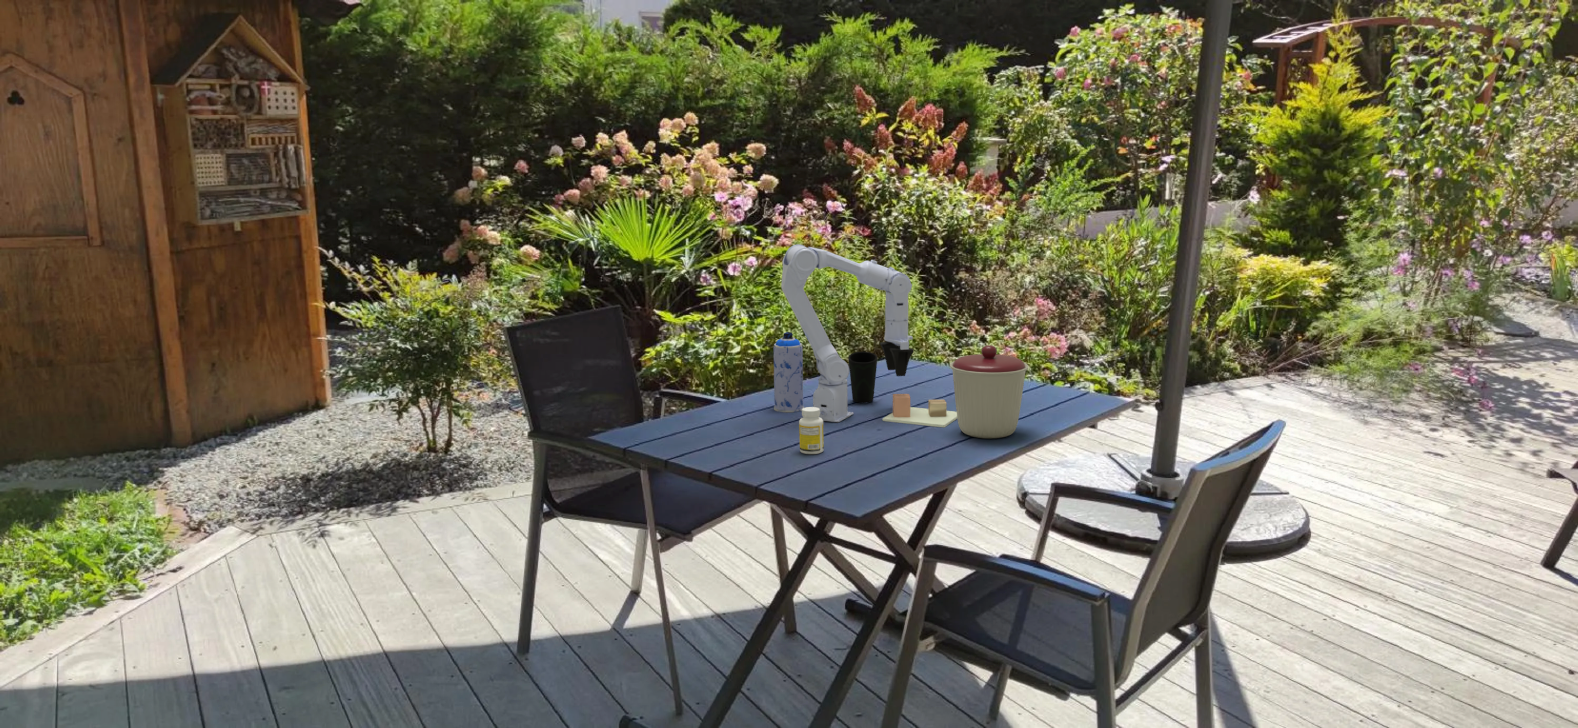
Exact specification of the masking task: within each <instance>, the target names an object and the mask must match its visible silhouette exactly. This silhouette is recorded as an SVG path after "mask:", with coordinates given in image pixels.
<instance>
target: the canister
mask: <svg viewBox="0 0 1578 728" xmlns="http://www.w3.org/2000/svg"><path fill="white" fill-rule="evenodd" d="M949 368H950V369H951V370H952V377H953V380H952V381H953V390H954V399H955V400H954V401H955V409H956V411H955V412H957V419H956V420H957V425H958V427H959V429H960V430H961V432H962V433H964V434H965V435H967V436H970V437H974V438H979V439H1001V438H1005V437H1008V436H1010V435H1013V433H1015V431H1016V430H1017V427H1018V423H1019V419H1020V418H1019V417H1020V412H1021V408H1022V407H1021V406H1022V400H1023V391H1024V384H1025V376H1026V372H1027V371H1028V369H1029V365H1028V363H1026V362H1024V361H1023V360H1021V359H1020V358H1017V357H1015V356H1011V355H1007V354H1006V355H1003V354H998V349H997V348H996V346H995V345H991V344H987V345H984V346H982V348H981V354H980V353H979V354H970V355H969V354H968V355H962V356H960V357H958V358H957V359H955V360H953V361H952V362H950V363H949Z"/></svg>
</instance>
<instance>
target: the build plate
mask: <svg viewBox="0 0 1578 728" xmlns="http://www.w3.org/2000/svg"><path fill="white" fill-rule="evenodd" d="M956 420H958V419H957V411H952V410H946V417H930V415H929V413H928V408H922V407H916V406H915V407H913V406H910V417H894V416H893V412H891V413H889V414H888V415H886V416H884V417H883V418H882V422H887V423H888V422H891V423H900V424H908V425H919V426H927V427H935V428H937V427H938V428H946V427H948V426H949V425H950V424H952V423H953V422H955V421H956Z"/></svg>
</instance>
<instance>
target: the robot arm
mask: <svg viewBox="0 0 1578 728" xmlns="http://www.w3.org/2000/svg"><path fill="white" fill-rule="evenodd" d="M781 262H782V271H781V272H782V275H781V285H780V286H781V287H780V288H781V290H782V293H783V294H784V296H785V298H786V300H787V302H788V304H789V306H790V308H791V310H792V312H793V313H794V316H795V318H796V320H797V321H798V323H799V325H800V327H801V329H802V331H803V333H804V335H805V338H806V339H807V341H808V343H809V344H810V347H811V349H812V351H813V356H814V358H815V359H816V370H817V371H818V373H819V374H820V376H819V378H818V380H817V381H818V386H817V388H815V390H814V392H813V395H812V407H817V408H819V409H820V415H819V417H820V418H822V420H823V422H832V423H840V422H842V421H843V420H845V419H847V418H849V417H851V416H853V415H854V412H853V411H848V378H849V376H850V370H849V363H847V362H846V361H845V360H844V359H842V358H841V357H840V355H839V354H838V351H837V350H836V348H835V347H834V346H833V344H832V343H831V340H830V338H829V336H828V334H827V333H826V332H827V331H826V330H825V328H824V327H823V325H822V322H821V321H820V319H819V317H818V314H817V312H816V311H815V309H814V307H813V304H812V303H811V301H810V299H809V297H808V296H807V293H806V291H805V290H804V287H805V285H806V283H807V280H808V278H809V277H810V275H812V273H813V272H814V271H815V270H816V269H818V270H821V269H823V268H827V267H828V268H829V267H830V268H832V269H834V270H839V271H841V272H845V273H848V274H851V275H853V276H855V277H856V280H857V281H858V283H860V284H862V285H866V286H868V287H871V288H874V289H878V290H880V291H885V303H884V308H885V310H884V311H885V313H884V315H885V316H884V330H885V331H884V336H883V337H884V342H883V341H882V342H880V343H879V345H880V346H881V350H882V352H883V355H884V358H885V363H886V367H887V370H888V371H895V375H896V377H905V376H906V374H907V369H908V365H909V362H910V359H911V356H912V355H913V353H914V348H910V340H911V341H913V335H909V293H910V292H911V290H912V288H913V284H912V283H911V278H910V277H909V276H908V275H907V274H905V273H903V272H901V271H898V270H896V269H895V268H894V267H892V266H889V267H887V266H884V265H882V264H881V265H880V264H878V261H876V260H874V259H871V260H864V261H862V262H860V263H858V262H856V261H854V260H851V259H849V258H846V257H843V256H841V255H838V254H837V253H833V252H831V251H828V250H825V249H821V248H816V247H811V246H808V247H806V246H805V245H803V244H798V243H797V244H794V245H792V246H790V247H788V249H787V250H786V252H785V255H784V256H783V259H782V261H781Z"/></svg>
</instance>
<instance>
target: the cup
mask: <svg viewBox="0 0 1578 728" xmlns="http://www.w3.org/2000/svg"><path fill="white" fill-rule="evenodd" d="M847 359H848V366H849V377H850V378H849V379H850V387H851V395H852V396H851V397H852V401H853V402H855V403H858V404H867V403H871V402H872V401H873V400H874V397H875V395H874V394H875V385H876V377H877V376H876V375H877V366H878V355H876V354H875V353H873V352H870V351H856V352H853V353H850V354H849V355H848V357H847Z"/></svg>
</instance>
